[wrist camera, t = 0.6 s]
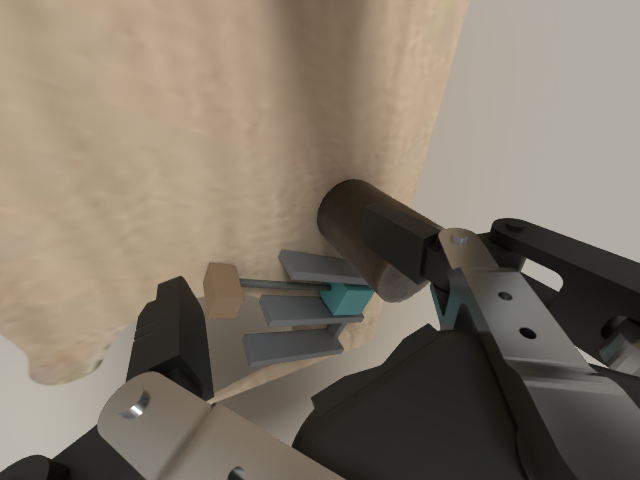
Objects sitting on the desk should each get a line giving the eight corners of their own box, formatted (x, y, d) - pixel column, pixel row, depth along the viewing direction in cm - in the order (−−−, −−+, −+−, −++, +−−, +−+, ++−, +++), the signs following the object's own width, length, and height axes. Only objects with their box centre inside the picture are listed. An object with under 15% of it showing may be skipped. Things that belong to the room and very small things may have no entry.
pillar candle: (313, 189, 30) (392, 256, 19) (376, 171, 33) (476, 220, 22) (319, 248, 36) (382, 326, 25) (372, 229, 39) (449, 290, 28)
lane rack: (281, 249, 33) (294, 271, 29) (369, 263, 43) (387, 280, 39) (242, 339, 38) (249, 367, 35) (328, 332, 49) (341, 353, 45)
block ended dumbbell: (211, 255, 28) (218, 289, 24) (357, 272, 42) (378, 295, 38) (201, 289, 30) (205, 326, 25) (344, 294, 44) (363, 318, 40)
